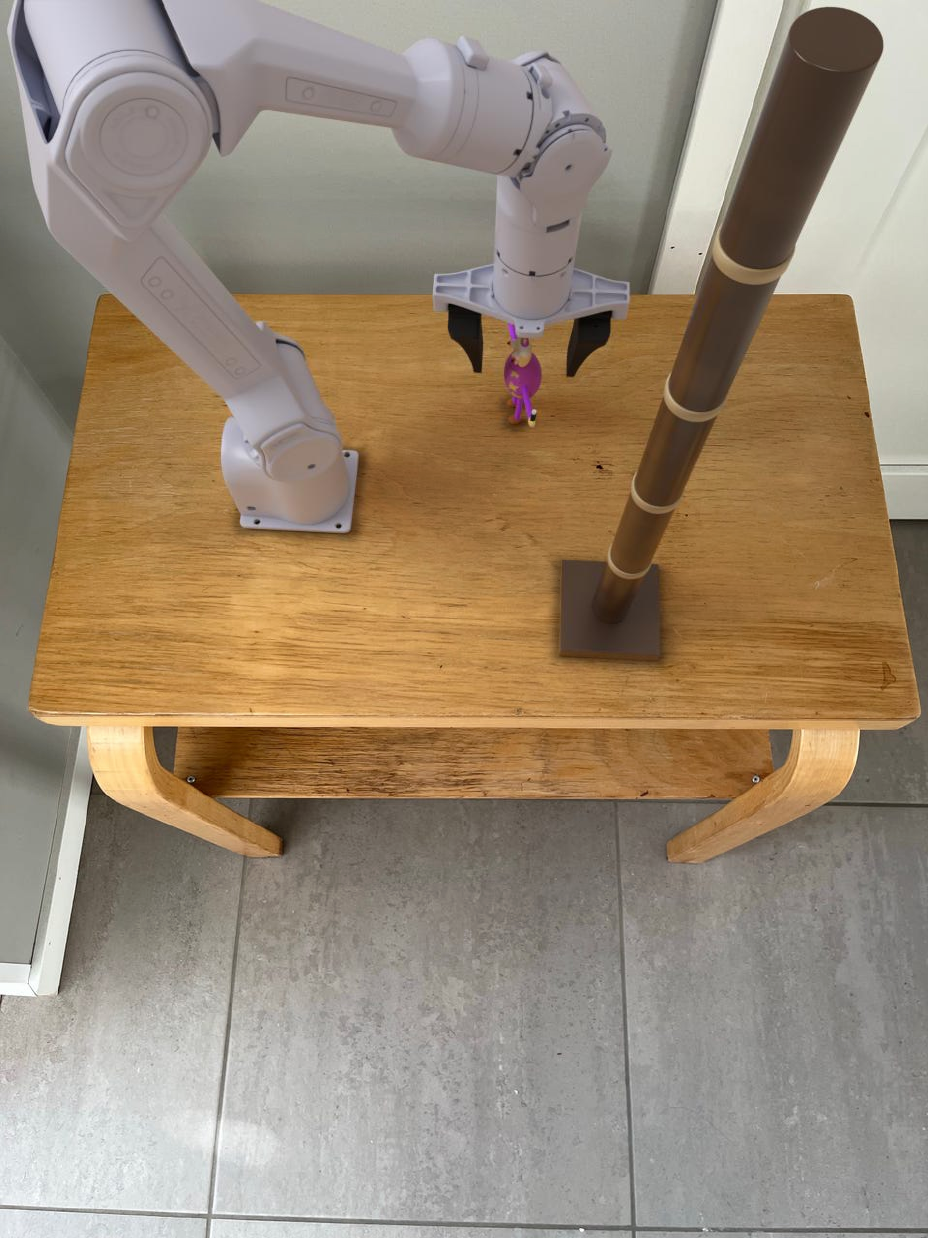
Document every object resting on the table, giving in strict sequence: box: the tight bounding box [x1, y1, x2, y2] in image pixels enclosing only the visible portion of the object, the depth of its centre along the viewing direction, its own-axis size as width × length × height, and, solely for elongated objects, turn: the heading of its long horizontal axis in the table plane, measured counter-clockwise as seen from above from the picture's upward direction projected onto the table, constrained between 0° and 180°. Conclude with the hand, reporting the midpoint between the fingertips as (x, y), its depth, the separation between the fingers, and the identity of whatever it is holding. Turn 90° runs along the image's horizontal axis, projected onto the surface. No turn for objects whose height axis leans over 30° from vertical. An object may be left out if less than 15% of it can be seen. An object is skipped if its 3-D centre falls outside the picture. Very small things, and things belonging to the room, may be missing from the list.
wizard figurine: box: [503, 323, 543, 428], centre depth 77 cm, size 11×3×12 cm, turn 9°
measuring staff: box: [558, 6, 885, 662], centre depth 52 cm, size 8×8×50 cm
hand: (524, 364), depth 76 cm, fingers open, 7 cm apart
